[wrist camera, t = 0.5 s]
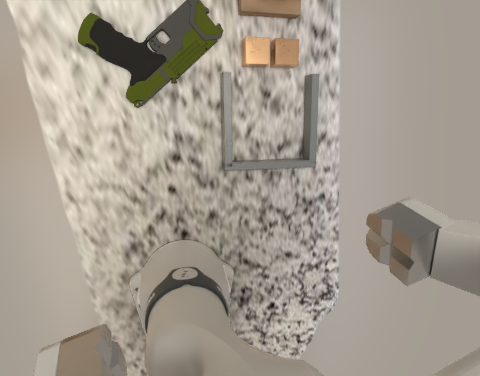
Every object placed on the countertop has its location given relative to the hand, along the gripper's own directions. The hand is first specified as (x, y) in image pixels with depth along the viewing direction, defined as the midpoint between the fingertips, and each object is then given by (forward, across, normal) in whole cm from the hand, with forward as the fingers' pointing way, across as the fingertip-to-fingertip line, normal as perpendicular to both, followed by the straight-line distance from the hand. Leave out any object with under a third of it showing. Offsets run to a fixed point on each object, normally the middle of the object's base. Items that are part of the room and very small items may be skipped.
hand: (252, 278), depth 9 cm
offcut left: (+48, +20, -2) cm, 52 cm away
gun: (+51, +5, +4) cm, 51 cm away
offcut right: (+47, +25, -3) cm, 53 cm away
